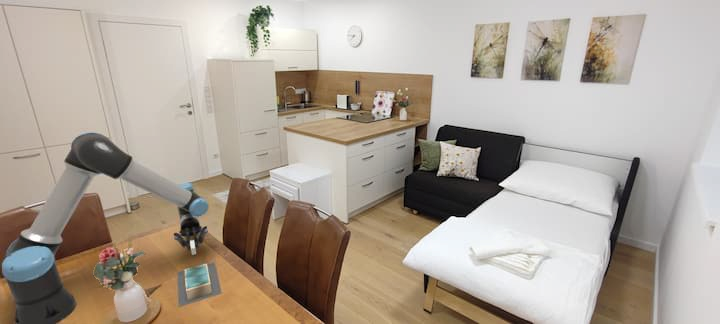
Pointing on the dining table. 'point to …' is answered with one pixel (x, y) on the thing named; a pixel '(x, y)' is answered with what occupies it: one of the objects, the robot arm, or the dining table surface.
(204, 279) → the beige tall block
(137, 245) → the dining table surface
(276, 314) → the dining table surface
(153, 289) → the shard
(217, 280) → the rubber mat
